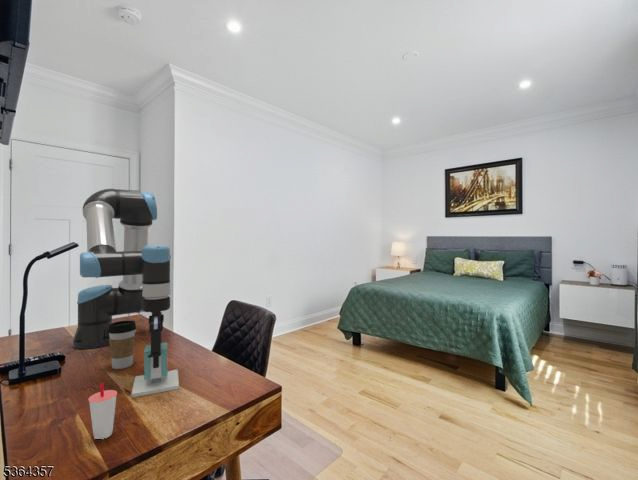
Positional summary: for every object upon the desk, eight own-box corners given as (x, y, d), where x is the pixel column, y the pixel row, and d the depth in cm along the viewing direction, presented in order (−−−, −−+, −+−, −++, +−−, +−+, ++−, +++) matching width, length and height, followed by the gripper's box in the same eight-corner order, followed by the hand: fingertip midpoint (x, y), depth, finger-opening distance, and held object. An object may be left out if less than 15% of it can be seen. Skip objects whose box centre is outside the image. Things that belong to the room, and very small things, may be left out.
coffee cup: (122, 371, 103) (122, 326, 103) (101, 369, 104) (101, 324, 104) (142, 361, 111) (142, 319, 111) (121, 359, 113) (121, 318, 112)
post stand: (135, 379, 97) (135, 354, 97) (177, 372, 103) (177, 348, 102) (131, 397, 86) (131, 369, 86) (178, 388, 92) (178, 361, 92)
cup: (82, 439, 69) (82, 385, 69) (106, 425, 74) (106, 375, 74) (99, 445, 67) (99, 389, 67) (123, 430, 72) (122, 379, 72)
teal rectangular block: (145, 371, 96) (145, 345, 96) (167, 368, 98) (167, 342, 98) (144, 380, 90) (144, 351, 90) (167, 376, 93) (167, 348, 93)
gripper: (144, 292, 101) (144, 363, 101) (139, 304, 84) (139, 389, 84) (169, 290, 104) (170, 359, 105) (170, 301, 87) (170, 384, 88)
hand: (156, 373), depth 94 cm, fingers closed on teal rectangular block, 6 cm apart
